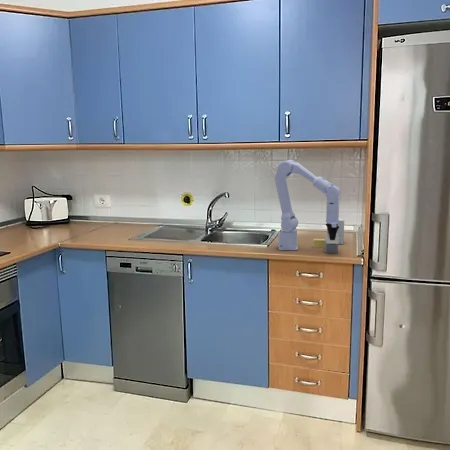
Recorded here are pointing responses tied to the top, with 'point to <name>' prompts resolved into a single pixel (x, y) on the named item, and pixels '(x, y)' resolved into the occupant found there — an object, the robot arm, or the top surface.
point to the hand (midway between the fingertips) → (331, 239)
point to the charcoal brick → (331, 248)
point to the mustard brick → (318, 243)
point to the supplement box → (340, 231)
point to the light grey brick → (332, 240)
